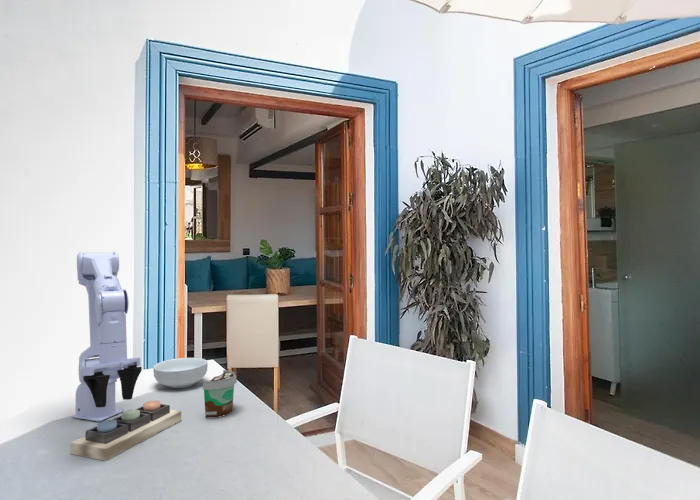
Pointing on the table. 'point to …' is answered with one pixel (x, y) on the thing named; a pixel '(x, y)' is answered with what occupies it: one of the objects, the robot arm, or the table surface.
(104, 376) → the robot arm
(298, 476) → the table surface
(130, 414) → the button sage
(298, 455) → the table surface
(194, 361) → the cereal bowl
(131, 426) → the button board
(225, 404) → the food container
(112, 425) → the button blue
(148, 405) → the button terracotta
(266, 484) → the table surface
